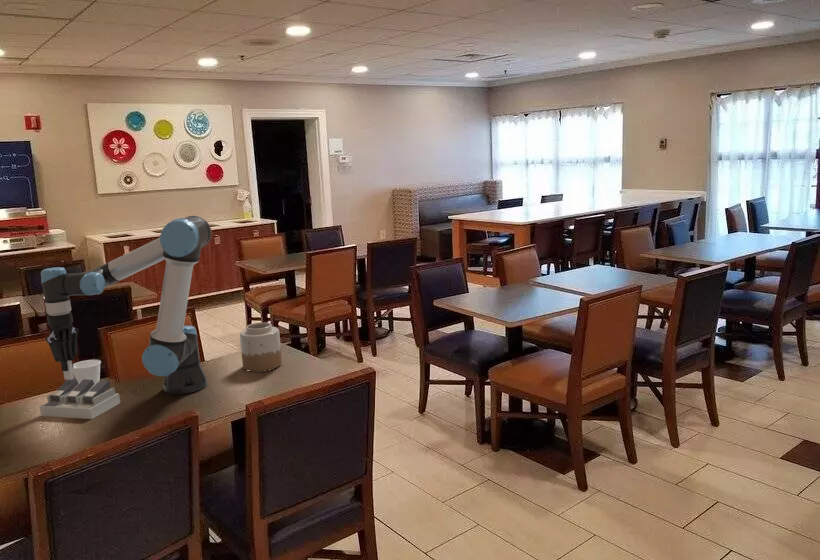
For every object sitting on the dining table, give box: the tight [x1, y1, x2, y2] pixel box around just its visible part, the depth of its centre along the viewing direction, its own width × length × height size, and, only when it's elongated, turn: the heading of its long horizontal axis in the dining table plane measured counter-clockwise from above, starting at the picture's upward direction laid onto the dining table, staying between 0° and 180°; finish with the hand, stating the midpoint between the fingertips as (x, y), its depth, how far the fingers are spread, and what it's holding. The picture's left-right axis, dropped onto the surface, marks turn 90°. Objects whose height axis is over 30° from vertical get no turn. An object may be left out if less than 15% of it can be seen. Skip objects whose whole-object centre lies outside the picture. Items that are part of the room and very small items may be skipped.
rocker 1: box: [50, 378, 79, 401], centre depth 221 cm, size 4×9×2 cm, turn 166°
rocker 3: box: [83, 380, 111, 402], centre depth 218 cm, size 4×9×2 cm, turn 166°
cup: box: [73, 359, 102, 391], centre depth 235 cm, size 10×10×11 cm
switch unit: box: [39, 387, 121, 420], centre depth 219 cm, size 20×14×6 cm
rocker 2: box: [67, 379, 94, 402], centre depth 220 cm, size 4×9×2 cm, turn 166°
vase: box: [239, 322, 283, 372], centre depth 256 cm, size 15×15×17 cm
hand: (69, 378), depth 223 cm, fingers closed
